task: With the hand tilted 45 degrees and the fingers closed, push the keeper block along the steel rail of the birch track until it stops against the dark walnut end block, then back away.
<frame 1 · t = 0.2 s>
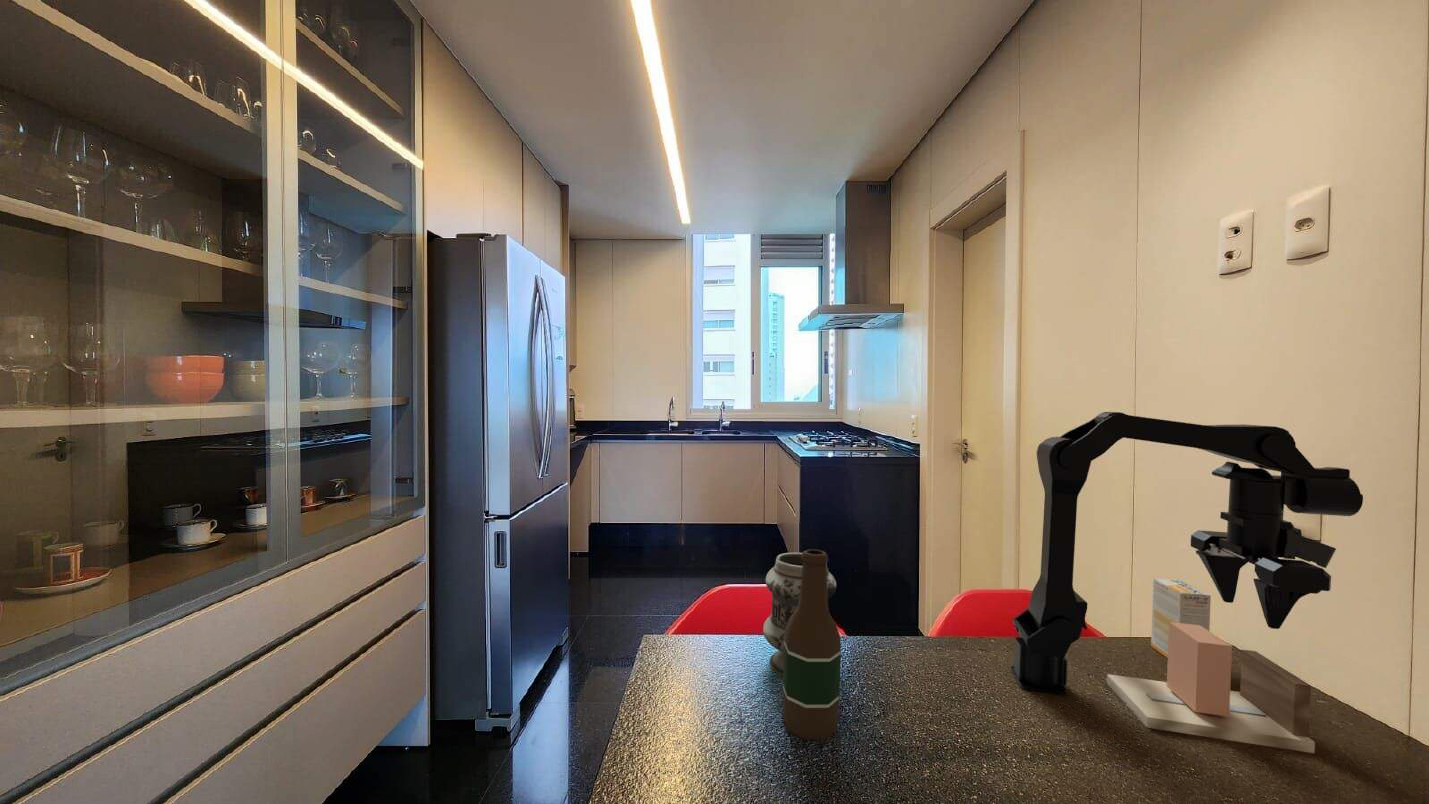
hand: (1249, 614, 79), 15 cm above the table, tool pointing down, fingers open, 9 cm apart
apothecary jar: (798, 666, 90), on the table
keeper: (1197, 667, 79), point 7 cm above the table, slide at 0.0 cm
track: (1199, 714, 79), on the table
supplement box: (1178, 659, 96), on the table
beer bottle: (809, 726, 74), on the table
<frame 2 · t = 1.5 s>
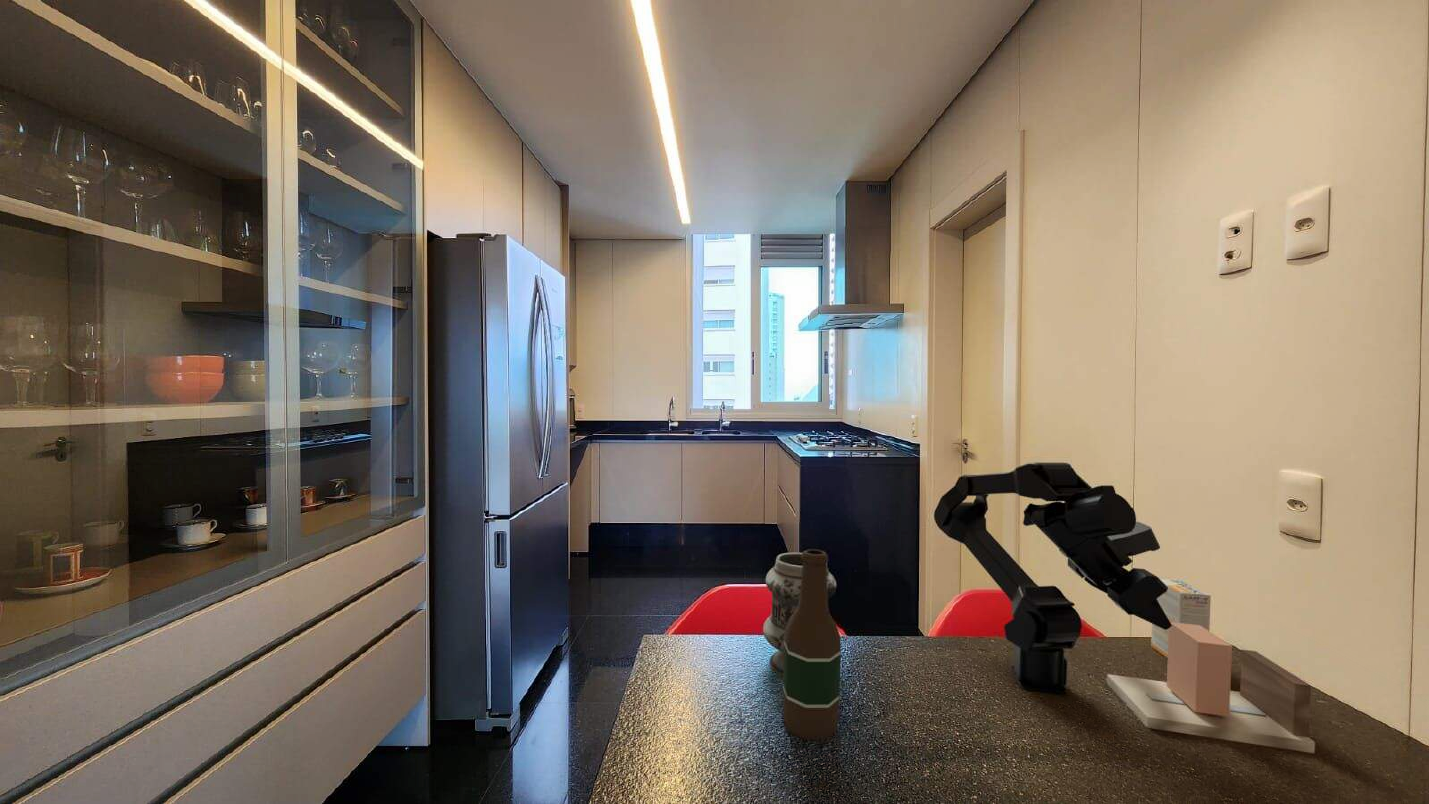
hand: (1155, 617, 80), 14 cm above the table, tool tilted 45°, fingers open, 7 cm apart
nothing on the table moved.
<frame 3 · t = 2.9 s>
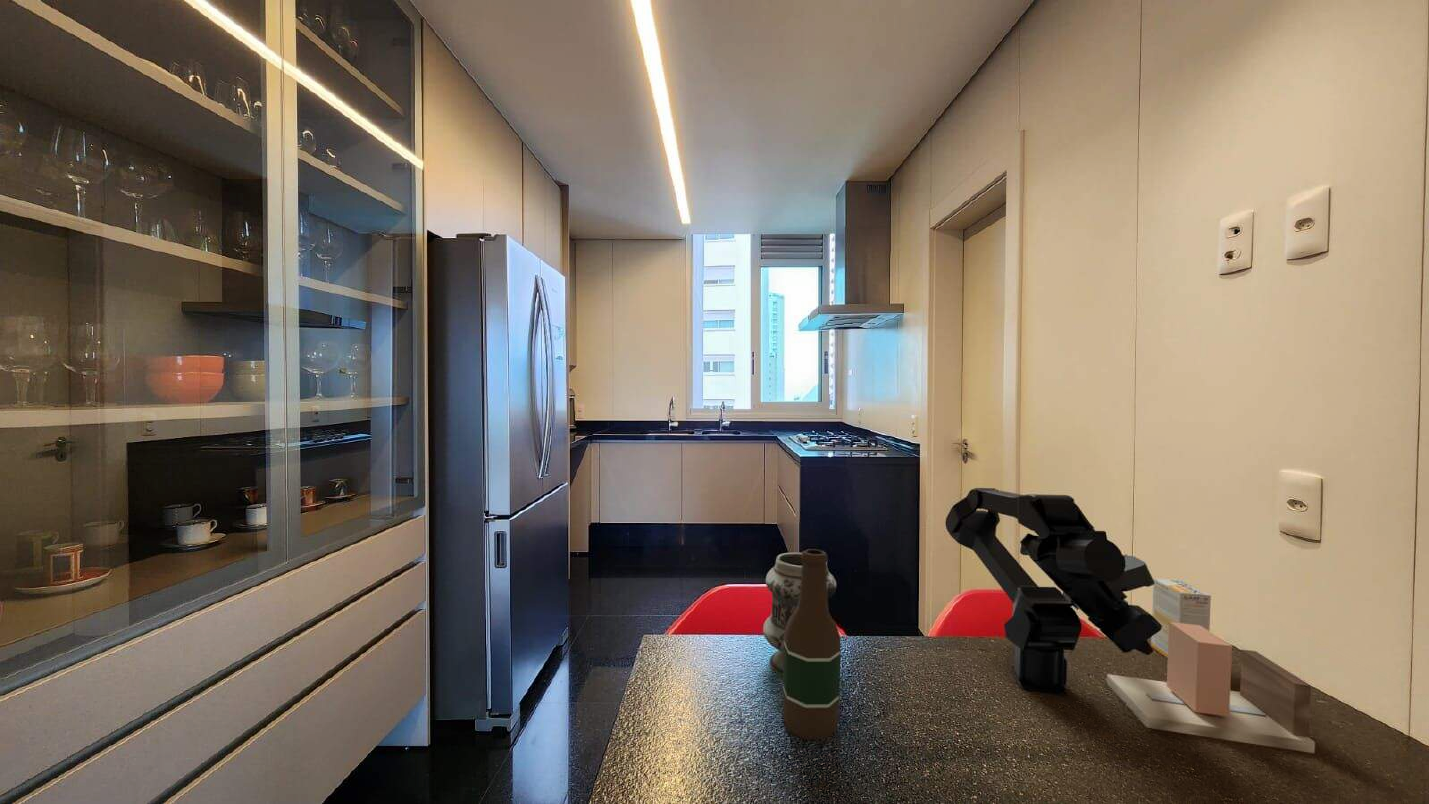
hand: (1149, 652, 80), 8 cm above the table, tool tilted 45°, fingers closed
nothing on the table moved.
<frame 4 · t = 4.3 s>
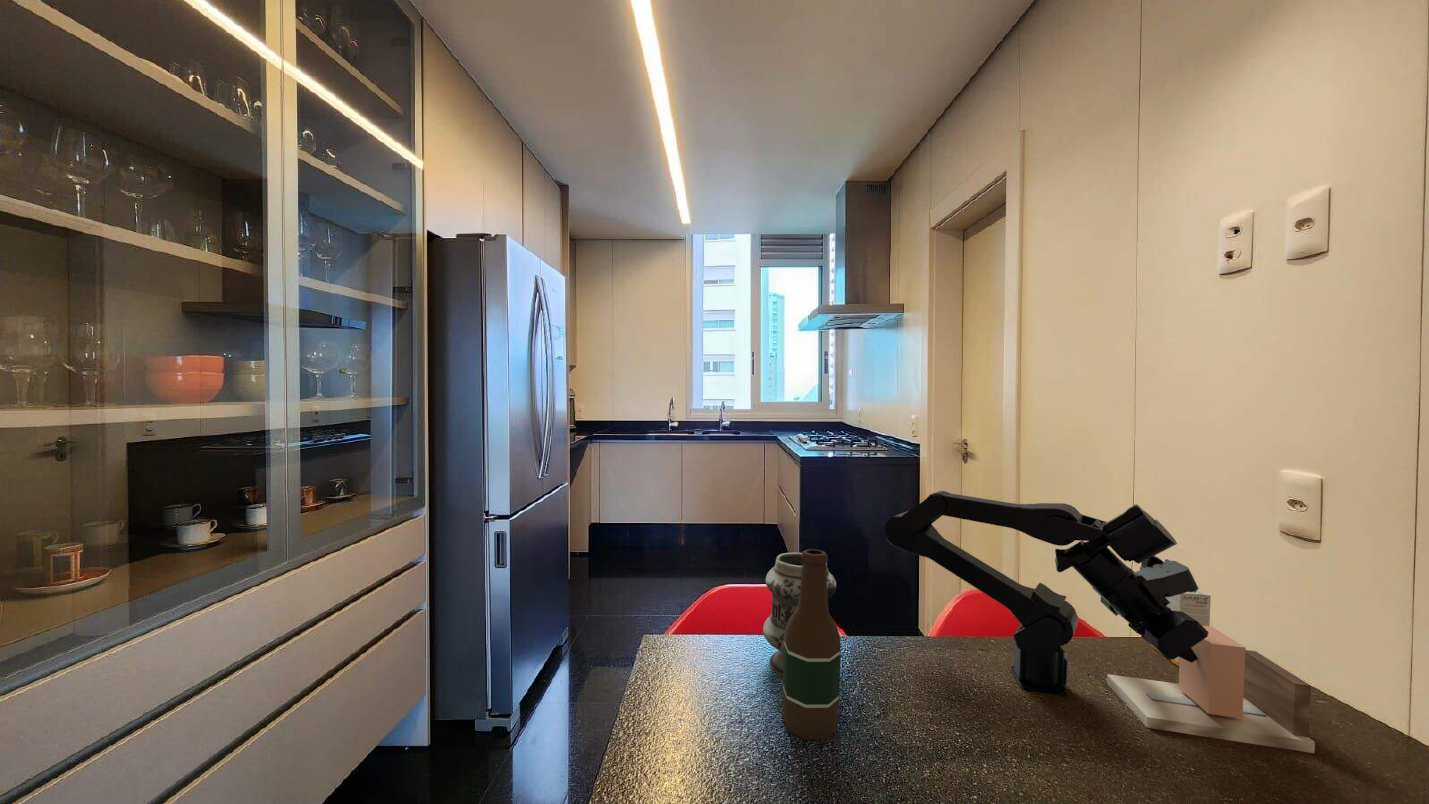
hand: (1193, 659, 78), 8 cm above the table, tool tilted 45°, fingers closed
keeper: (1210, 668, 78), point 7 cm above the table, slide at 1.6 cm, touching gripper
everything else where it was.
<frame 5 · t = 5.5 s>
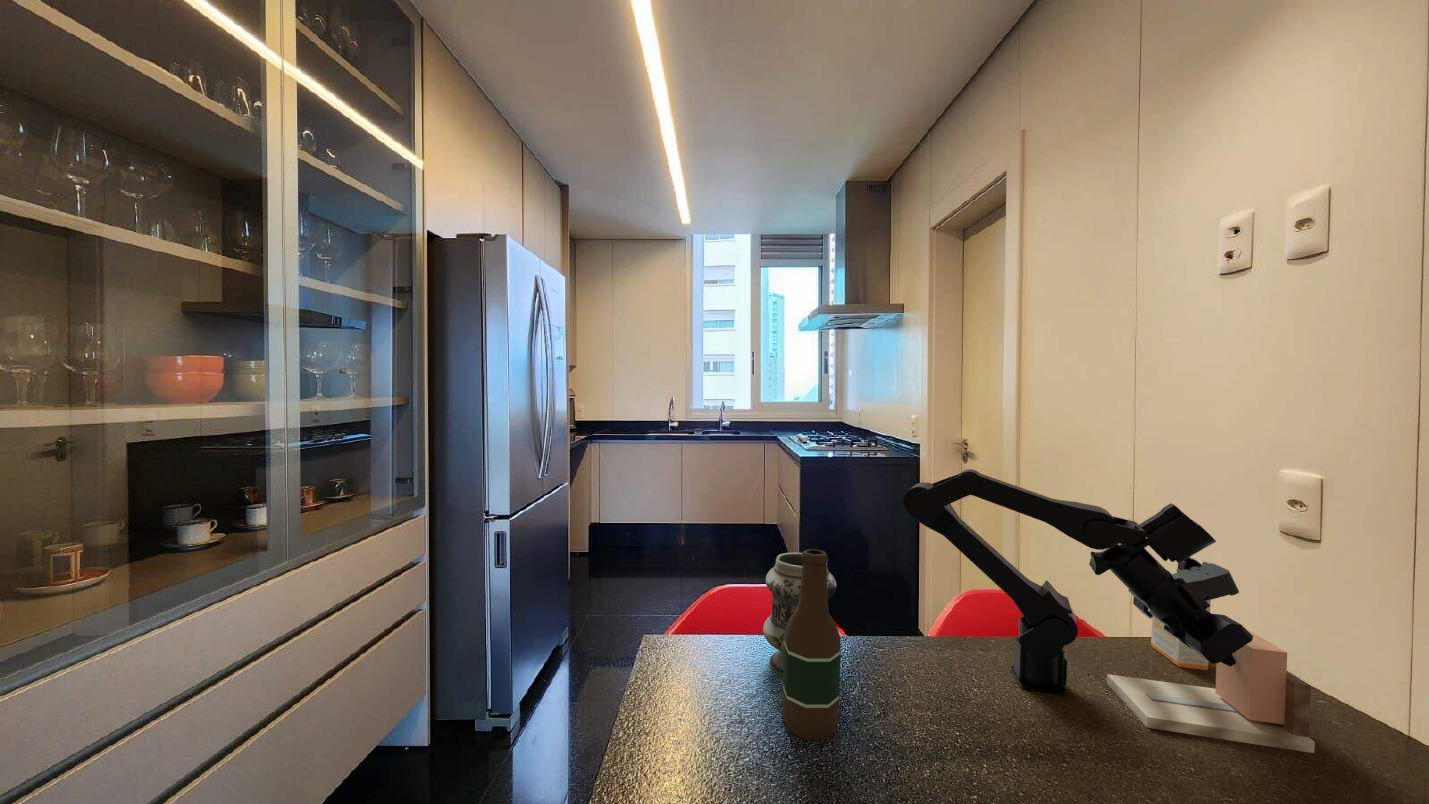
hand: (1231, 663, 78), 8 cm above the table, tool tilted 45°, fingers closed, pressing on keeper
keeper: (1249, 673, 77), point 7 cm above the table, slide at 6.3 cm, touching gripper
everything else where it was.
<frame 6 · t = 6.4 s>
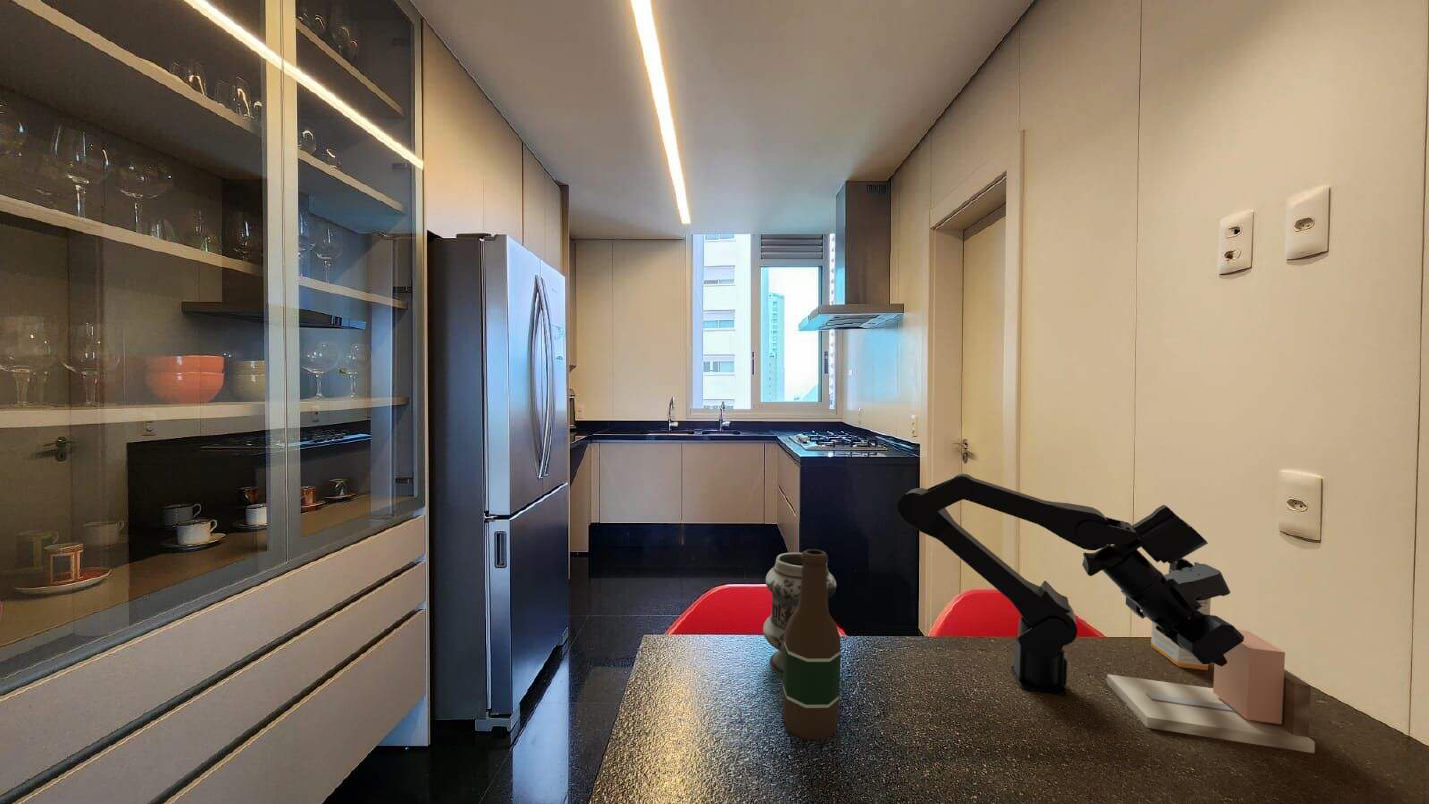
hand: (1223, 663, 78), 8 cm above the table, tool tilted 45°, fingers closed
keeper: (1247, 673, 77), point 7 cm above the table, slide at 6.0 cm
everything else where it was.
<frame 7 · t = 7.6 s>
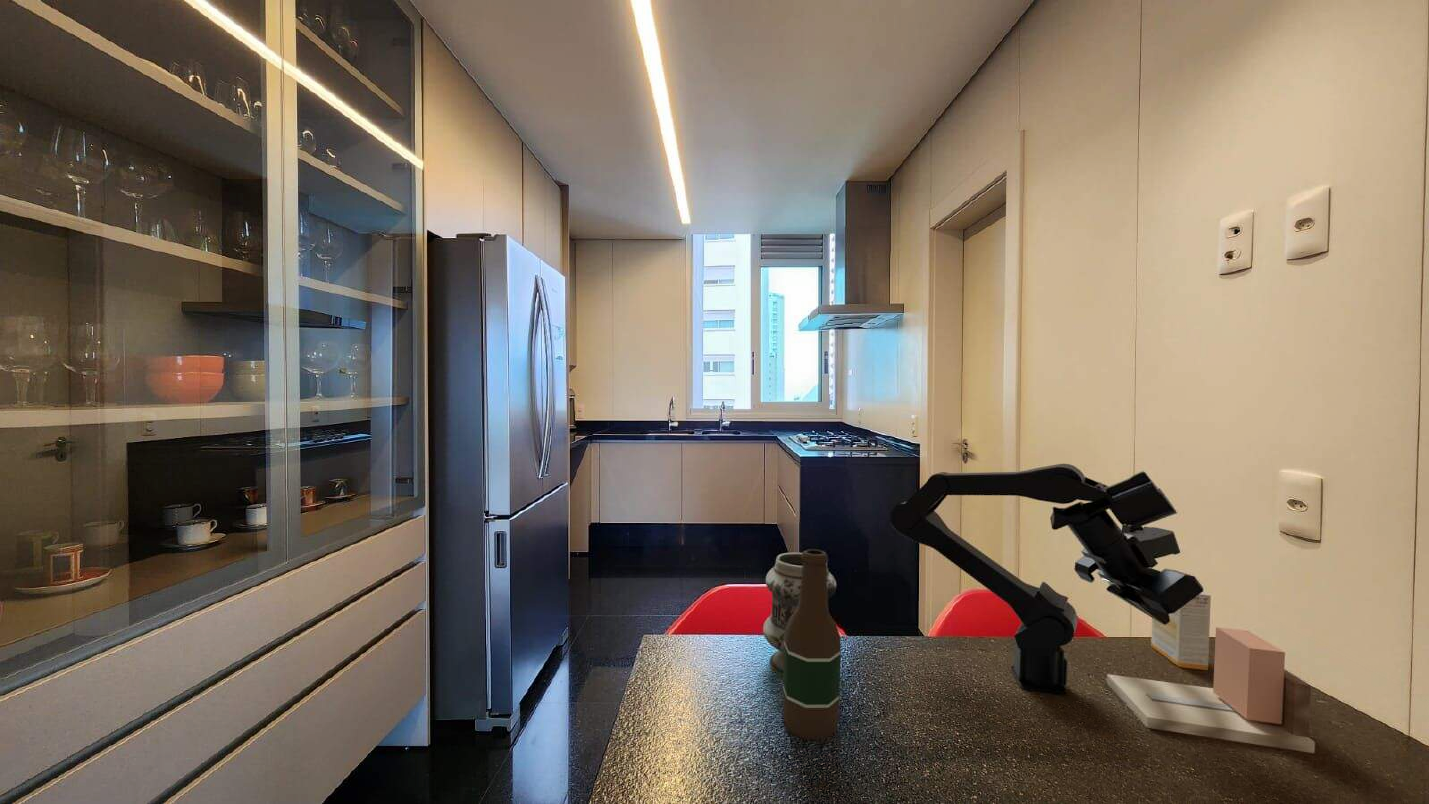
hand: (1165, 622, 81), 12 cm above the table, tool tilted 40°, fingers closed
nothing on the table moved.
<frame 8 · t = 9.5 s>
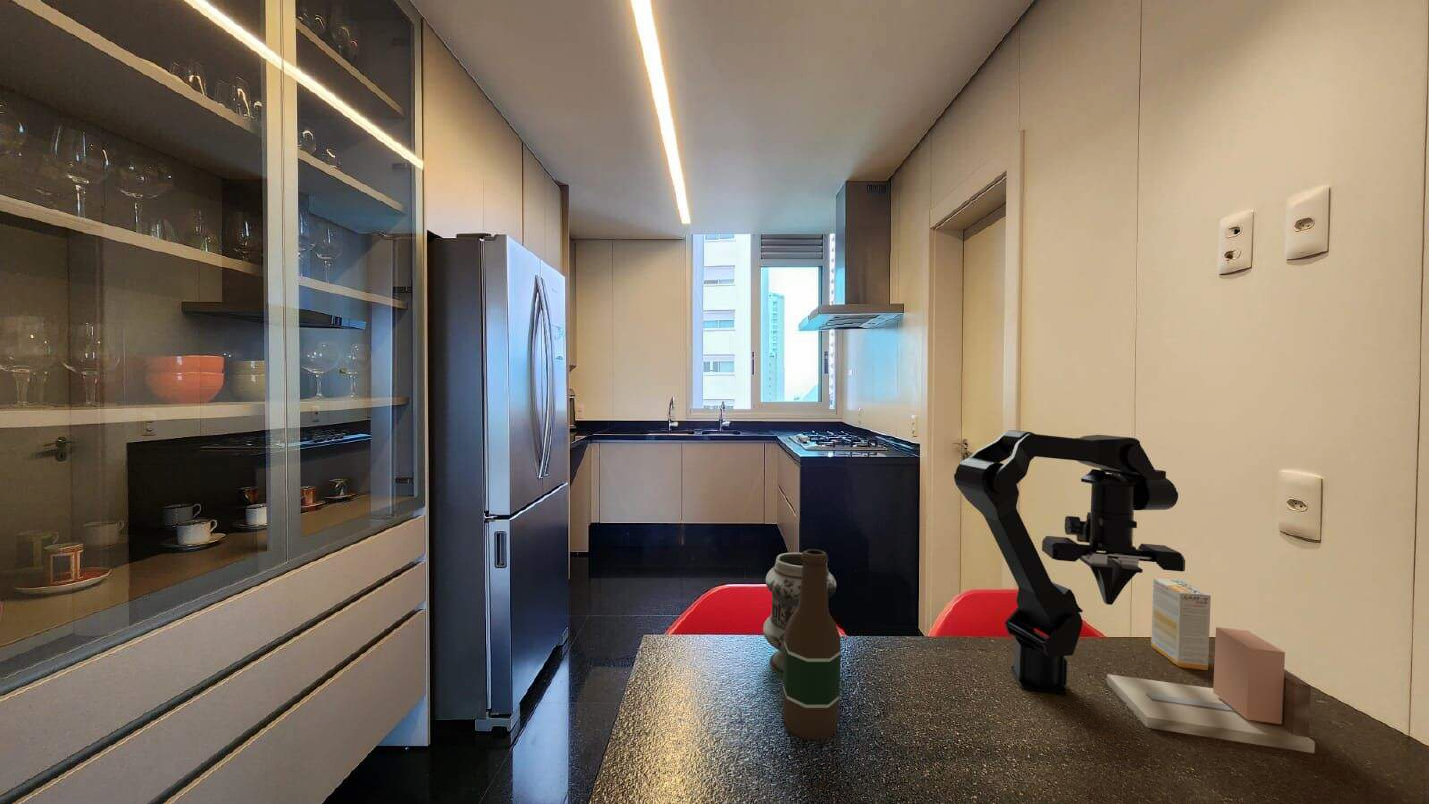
hand: (1107, 603, 89), 12 cm above the table, tool pointing down, fingers closed
nothing on the table moved.
at the end: keeper slide at 6.0 cm; keeper moved 6.0 cm from its start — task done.
